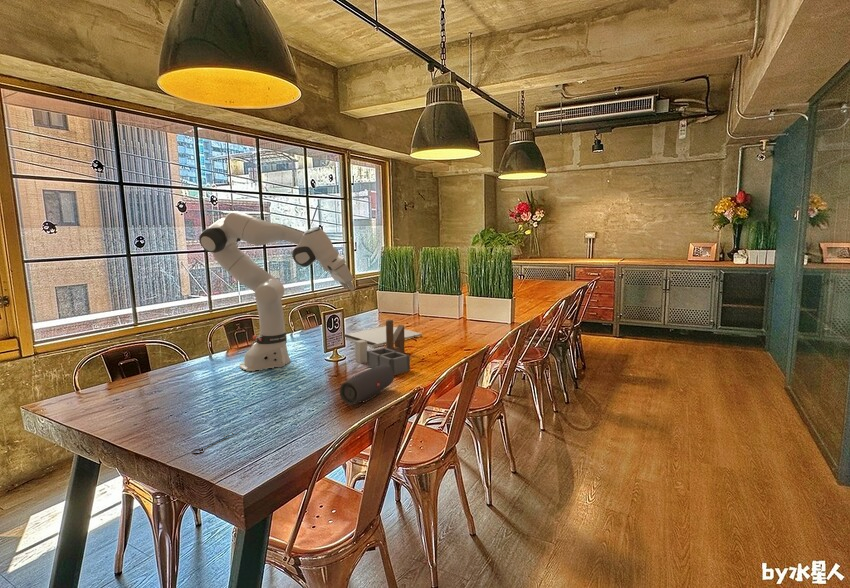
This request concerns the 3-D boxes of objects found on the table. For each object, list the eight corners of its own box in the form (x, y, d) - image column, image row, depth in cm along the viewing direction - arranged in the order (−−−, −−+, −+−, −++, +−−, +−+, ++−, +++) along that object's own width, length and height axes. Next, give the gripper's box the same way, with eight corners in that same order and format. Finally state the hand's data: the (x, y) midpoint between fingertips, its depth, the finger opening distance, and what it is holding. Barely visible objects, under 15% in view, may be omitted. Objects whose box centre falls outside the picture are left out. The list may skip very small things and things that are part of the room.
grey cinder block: (391, 376, 193) (391, 360, 192) (367, 366, 206) (366, 351, 205) (409, 370, 199) (409, 355, 198) (385, 361, 213) (384, 347, 212)
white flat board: (372, 344, 238) (340, 334, 260) (372, 349, 238) (340, 338, 261) (421, 333, 261) (388, 325, 284) (421, 337, 261) (388, 329, 284)
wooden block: (404, 352, 228) (404, 317, 225) (390, 357, 220) (389, 321, 217) (399, 351, 230) (398, 316, 228) (384, 356, 222) (384, 320, 219)
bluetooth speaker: (359, 410, 157) (358, 382, 155) (338, 405, 161) (337, 378, 160) (395, 389, 176) (395, 365, 175) (376, 386, 181) (375, 361, 179)
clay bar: (360, 363, 211) (359, 342, 209) (355, 361, 214) (354, 341, 212) (367, 361, 213) (366, 341, 212) (362, 360, 216) (362, 339, 215)
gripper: (319, 265, 199) (337, 290, 203) (332, 267, 180) (350, 295, 185) (331, 257, 201) (348, 282, 205) (345, 259, 182) (363, 286, 187)
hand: (349, 288), depth 195 cm, fingers open, 8 cm apart
